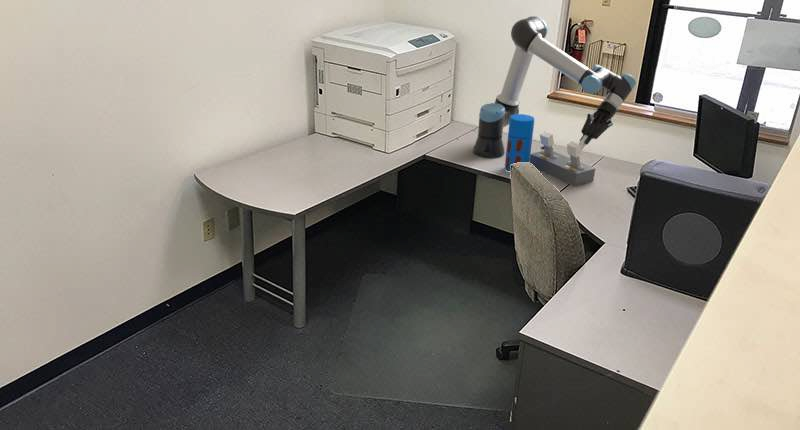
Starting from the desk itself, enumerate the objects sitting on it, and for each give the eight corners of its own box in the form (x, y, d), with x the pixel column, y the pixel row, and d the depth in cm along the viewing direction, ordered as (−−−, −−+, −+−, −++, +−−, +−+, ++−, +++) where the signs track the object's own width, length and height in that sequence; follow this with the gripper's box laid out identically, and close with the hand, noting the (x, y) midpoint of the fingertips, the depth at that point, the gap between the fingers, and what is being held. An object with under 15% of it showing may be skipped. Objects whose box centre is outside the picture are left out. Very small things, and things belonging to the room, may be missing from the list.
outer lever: (568, 165, 277) (566, 144, 271) (573, 162, 278) (571, 141, 272) (577, 168, 273) (575, 147, 267) (582, 165, 274) (580, 144, 268)
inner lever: (542, 154, 289) (539, 134, 283) (547, 151, 290) (544, 131, 284) (550, 157, 285) (547, 137, 279) (555, 154, 286) (552, 134, 280)
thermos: (527, 175, 281) (534, 122, 270) (503, 173, 283) (509, 120, 272) (528, 167, 291) (534, 115, 280) (505, 164, 292) (510, 113, 281)
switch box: (529, 165, 292) (530, 151, 289) (547, 161, 298) (549, 146, 295) (574, 186, 271) (577, 171, 268) (593, 181, 277) (595, 165, 274)
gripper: (625, 114, 271) (593, 158, 269) (601, 107, 280) (570, 149, 279) (619, 104, 266) (587, 148, 264) (594, 97, 275) (563, 140, 274)
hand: (578, 148), depth 272 cm, fingers closed
